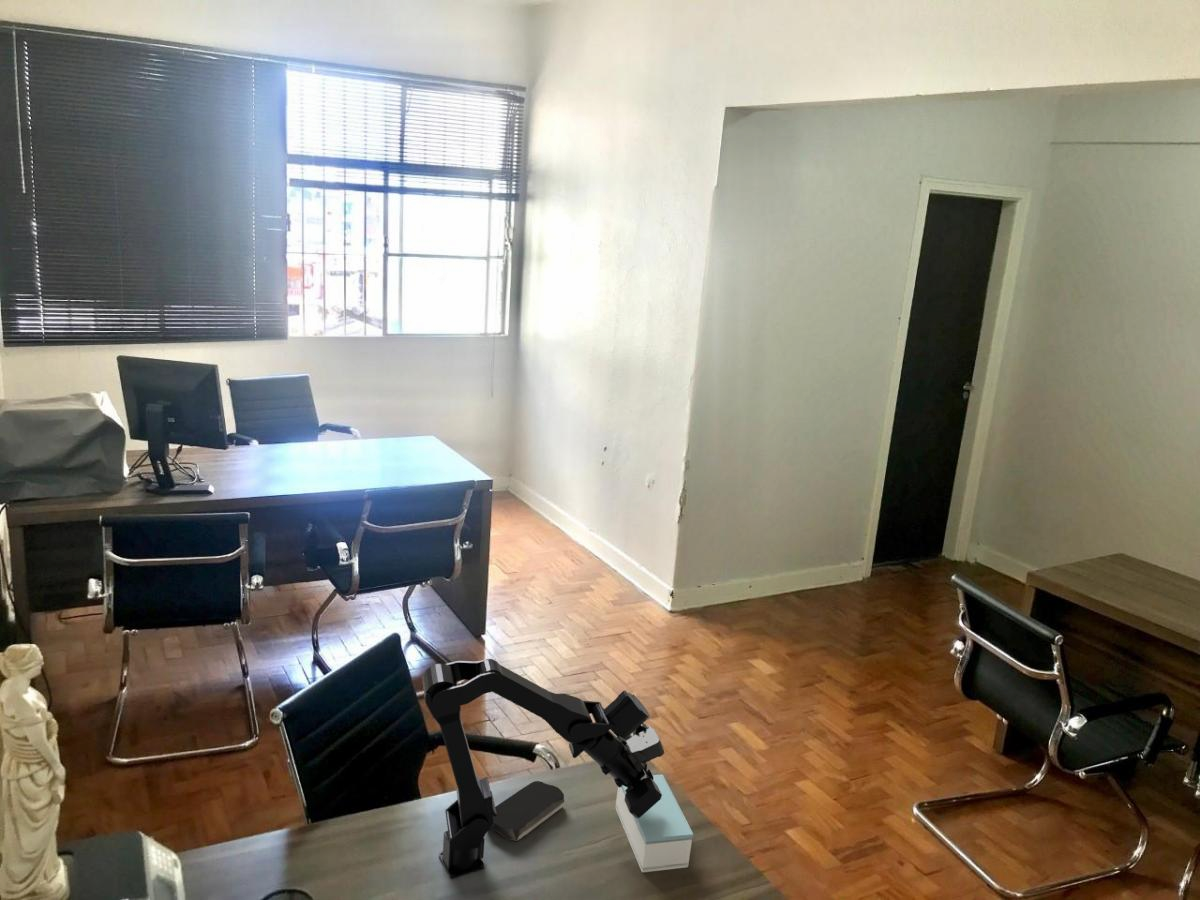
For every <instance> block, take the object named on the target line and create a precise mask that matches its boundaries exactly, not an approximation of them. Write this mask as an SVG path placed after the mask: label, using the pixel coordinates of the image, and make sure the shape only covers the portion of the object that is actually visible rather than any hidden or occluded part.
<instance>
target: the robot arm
mask: <svg viewBox="0 0 1200 900" xmlns="http://www.w3.org/2000/svg"><path fill="white" fill-rule="evenodd" d="M421 679H422V680H421V681H422V685H423V686H422V688H423V696H424V697H423V698H424V702H425V705H426V708H427V709H428V711H429V713H430V715H431V716H432V718H433V720H434V721H435V722H436V724H437V725H438V726H439V728H440V731H441V735H442V738H443V742H444V746H445V748H446V752H447V755H448V758H449V763H450V767H451V770H452V774H453V776H454V779H455V785H456V797H457V799H456V800H455V801H454V802H453V803H452V804H450V806H448V807H446V809H445V811H444V813H445V820H446V827H447V830H446V831H444V832H443V842H442V851H441V852H439V853H438V856H439V859H440V861H441V863H442V865H443V867H444V868H445V870H446V872H447V874H448V876H449V878H451V879H456V878H459V877H461V876H465V875H468V874H471V873H473V872H478V871H481V870H483V869H485V866H486V865H485V863H484V862H483V860H482V859H483V858H484V857H485V842H486V841H485V840H486V839H485V836H486V834H487V833H488V832H489V831H490V830H491V828H492V827H493V825H494V817H493V816H495V817H496V816H497V813H496V808H495V807H496V804H495V801H494V795H493V791H492V790H491V787H490V783H489V777H488V776H485V777H483V778H480V777H479V775H478V774H477V772H476V768H475V765H474V760H473V758H472V753H471V750H470V747H469V743H468V739H467V737H466V736H467V734H466V731H465V729H464V726H463V725H464V724H463V721H462V717H461V715H462V713H461V711H462V709H461V706H465V705H468V704H470V703H472V702H473V701H474V700H477V699H478V698H479V697H481V696H483V695H485V694H490V693H494V694H496V695H498V696H500V697H501V698H503V699H505V700H507V701H509V702H511V703H513V704H514V705H517V706H519V708H522V709H524V710H526V711H528V712H530V713H531V714H534V715H536V716H537V717H539V718H541V719H543V721H545V722H546V723H547V724H548V725H549V726H550V727H551V728H552V729H553V730H554V731H555V733H556V734H558V735H559V736H560V737H562V738H563V740H565V741H567V742H568V743H569V744H568V747H569V750H570V753H571V756H572V758H573V759H576V758H577V757H578V756H580V755H581V754H582V753H583V752H584V753H585V754H586V755H587V756H589V757H590V758H591V759H592V760H593V761H594V762H595V763H597V765H599V768H600V769H601V772H602V773H603V774H604V775H605V776H607V775H609V776H611V777H612V778H613V781H614V783H615V785H616V786H617V788H618V787H619V788H620V787H621V786H622V785H623V786H625V787H627V789H626V790H625V791H626V794H625V803H626V805H627V807H628V810H629V812H630V813H631V814H632V815H633V816H634V817H635V818H640V817H641V816H642V815H643V814H645V813H646V812H647V811H648V810H649V809H650V808H651V807H652V806H654V805H655V804H656V803H657V802H658V801H659V800H660V799H661V797H662V794H661V792H660V790H659V788H658V786H657V785H656V783H655V782H654V781H653V779H654V778H653V775H654V774H653V773H652V771H651V770H650V769H651V768H648V762H650V761H652V760H655V759H656V758H660V757H662V756H664V754H665V749H664V746H663V744H662V742H661V739H660V737H659V734H658V733H657V732H656V729H655V728H654V727H651V725H650V724H649V725H646V724H645V722H646V721H647V720H649V719H650V718H651V715H650V713H649V711H648V709H646V707H645V705H644V704H643V703H642V702H641V701H640V699H638V697H637V696H636V695H634V694H632V693H631V692H627V691H626V690H623V691H621V692H620V693H619V694H618V695H617V697H616V698H615V699H613V700H612V701H611V703H609V704H608V705H607V706H606V707H605V708H604V707H603V705H602V703H601V701H589V700H583V699H581V698H579V697H576V696H573V695H570V694H567V693H555V692H552V691H549V690H548V689H545V688H544V687H542V686H540V685H538V684H536V683H534V682H533V681H531V680H529V679H527V678H525V677H523V676H522V675H519V674H518V673H516V672H515V671H513V670H510V669H508V668H507V667H505V666H504V665H501V664H499V662H498V661H497V660H496V659H492V658H484V659H482V660H478V661H473V660H469V661H468V660H457V661H451V662H447V663H435V664H433V665H431V666H429V667H428V668H427V669H426V670H425V671H424V673H423V674H422V678H421ZM463 680H464V681H466V682H465V683H462V684H458V681H463ZM590 714H591V715H592V717H591V715H590ZM592 718H593V719H592ZM593 720H594V721H593Z"/></svg>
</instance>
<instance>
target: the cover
mask: <svg viewBox="0 0 1200 900" xmlns="http://www.w3.org/2000/svg"><path fill="white" fill-rule="evenodd" d="M652 775H653V778H654V779H653V781H654V782H655V783H656V785H657V786H658V788H659V790H660V792H661V794H662V797H661V799H660V800H659V801H658V802H657V803H656V804H655V805H654V806H652V807H651V808H650V809H649V810H648V811H647V812H646V813H645V814H643V815H642V816H641V817H640V818H635V817H634V818H635V820H636V822H637V824H638V827H639V829H640V831H641V834H642V836H643V838H644V840H645V843H647V842H657V841H667V840H677V839H687V838H691V839H693V838H694V833H693V830H692V829H691V827H690V825H689V823H688V821H687V819H686V817H685V815H684V813H683V811H682V809H681V807H680V805H679V803H678V801H677V799H676V797H675V796H674V793H673V792H672V789H671V788H670V785H669V784H668V782H667V780H666V778H665V776H664V775H663V774H652ZM621 788H622V790H623V792H624V795H625V794H626V791H625V790H626V789H627V787H625V786H623V785H622V786H621Z"/></svg>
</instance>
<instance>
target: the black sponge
mask: <svg viewBox="0 0 1200 900" xmlns="http://www.w3.org/2000/svg"><path fill="white" fill-rule="evenodd" d="M564 803H565V794H564V793H563V790H561V789H560V788H559V787H558V786H555V785H551V784H548V783H545V782H543V781H540V780H536V781H535V780H534V781H532V782H531V783H529V784H527V785H525V786H524V787H522V789H520V790H518V791H516V792H515V793H514V794H512V795H511V796H509V797H508V798H506V799H504V800H503V801H502V802H500V803H499V804H497V805H495V808H496V813H497V816H496V817H495V816H493V817H494V825H493V827H492V828H491V829H490V830H491V831H493V832H496V833H498V834H500V835H501V836H503V837H504V838H505V839H507V840H510V841H519V840H521V839H522V838H523V837H524V836H526V835H528V834H529V833H530V832H531V831H533V830H534V829H535V828H537V827H538V826H539V825H541V824H542V823H543V822H545V821H546V820H547V819H549V818H550V817H552V816H553V815H554V814H556V812H558V811H560V810H561V809H562V808H563V806H564Z"/></svg>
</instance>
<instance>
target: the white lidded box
mask: <svg viewBox="0 0 1200 900" xmlns="http://www.w3.org/2000/svg"><path fill="white" fill-rule="evenodd" d="M615 800H616V801H615V810H616V813H617V815H618V818H619V820H620V822H621V826H622V827H623V830H624V832H625V835H626V838H627V839H628V842H629V844H630V847H631V849H632V852H633V854H634V857H635V859H636V862H637V864H638V867H639V868H640V870H641V873H650V872H659V871H665V870H667V871H669V870H674V869H675V870H676V869H684V868H689V864H690V863H689V862H690V855H691V850H692V842H693V840H692V839H693V838H687V839H677V840H667V841H657V842H647V843H645V840H644V838H643V836H642V834H641V831H640V829H639V827H638V824H637V822H636V820H635V818H634V816H633V815H632V814H631V813H630V812H629V810H628V807H627V805H626V803H625V795H624V792H623V790H622V788H621V787H620V788H619V787H618V786H617V792H616V799H615Z"/></svg>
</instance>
